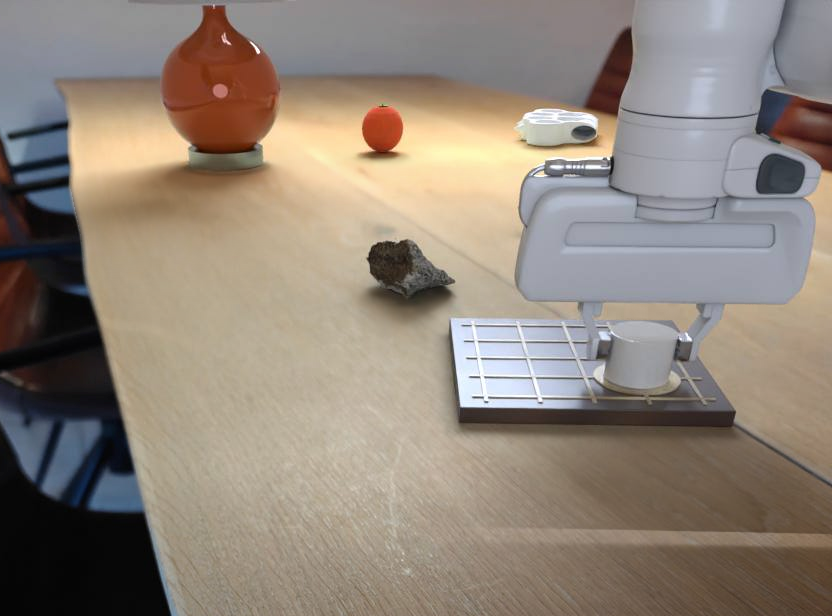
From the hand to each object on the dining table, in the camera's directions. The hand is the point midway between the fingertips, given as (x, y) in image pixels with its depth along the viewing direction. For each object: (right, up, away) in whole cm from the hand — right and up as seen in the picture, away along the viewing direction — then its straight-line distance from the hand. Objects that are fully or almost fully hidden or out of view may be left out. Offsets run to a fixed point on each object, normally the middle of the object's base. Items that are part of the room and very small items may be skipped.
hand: (639, 359), depth 70 cm
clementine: (-17, +62, +85) cm, 106 cm away
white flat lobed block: (+15, +69, +95) cm, 118 cm away
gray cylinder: (0, -1, +1) cm, 1 cm away
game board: (-4, 0, +5) cm, 6 cm away
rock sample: (-16, +14, +23) cm, 32 cm away
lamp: (-42, +56, +77) cm, 104 cm away
